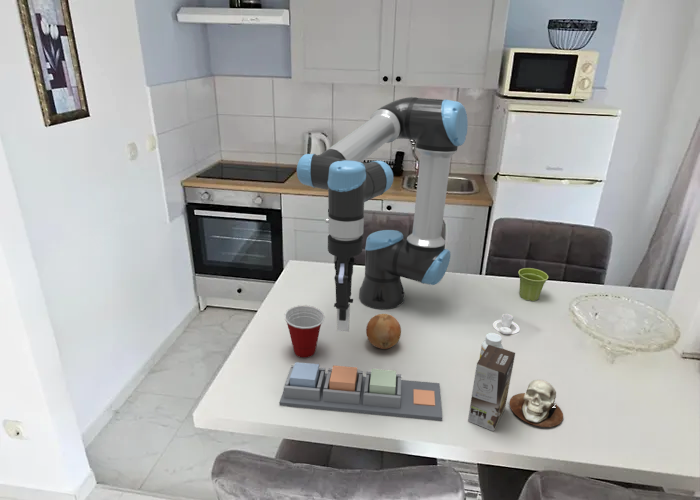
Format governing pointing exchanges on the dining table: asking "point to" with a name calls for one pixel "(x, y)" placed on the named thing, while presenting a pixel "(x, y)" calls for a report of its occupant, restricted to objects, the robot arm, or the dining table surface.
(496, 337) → the supplement bottle
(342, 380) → the button terracotta
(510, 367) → the coffee box
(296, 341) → the plastic cup
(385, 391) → the button sage
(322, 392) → the console
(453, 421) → the dining table surface
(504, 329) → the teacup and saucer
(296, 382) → the button slate
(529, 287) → the plant pot
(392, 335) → the onion
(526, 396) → the skull
